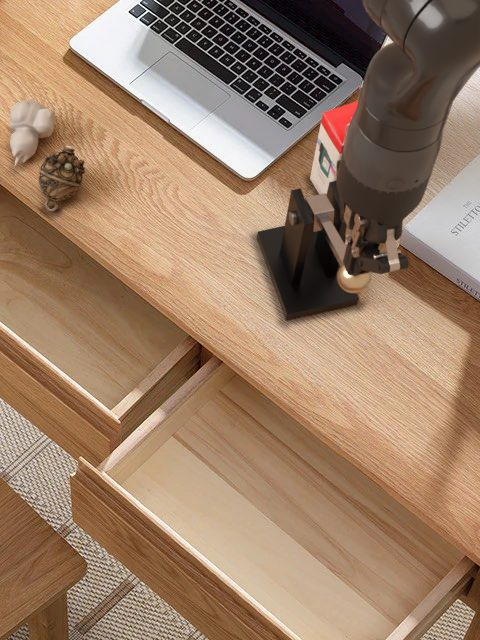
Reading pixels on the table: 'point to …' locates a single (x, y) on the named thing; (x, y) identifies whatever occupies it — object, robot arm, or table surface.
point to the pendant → (60, 175)
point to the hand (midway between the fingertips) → (355, 267)
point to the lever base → (305, 261)
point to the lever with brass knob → (334, 241)
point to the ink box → (330, 145)
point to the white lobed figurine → (29, 127)
